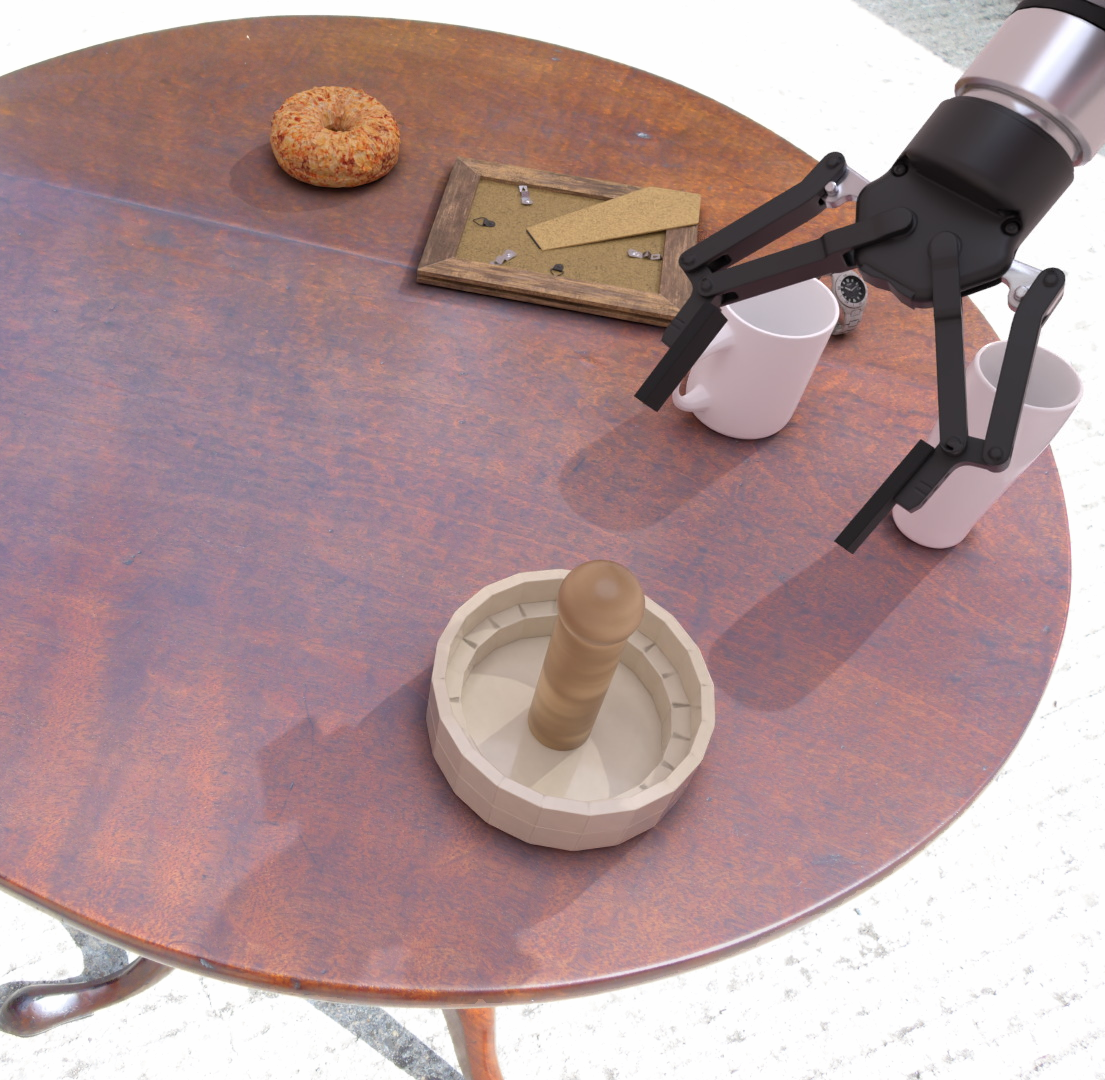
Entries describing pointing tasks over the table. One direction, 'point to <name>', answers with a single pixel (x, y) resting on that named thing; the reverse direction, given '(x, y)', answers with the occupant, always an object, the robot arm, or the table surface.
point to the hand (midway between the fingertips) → (738, 473)
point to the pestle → (584, 651)
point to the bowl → (613, 745)
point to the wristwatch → (848, 298)
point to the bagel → (334, 137)
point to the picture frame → (562, 241)
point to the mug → (761, 360)
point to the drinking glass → (971, 486)
